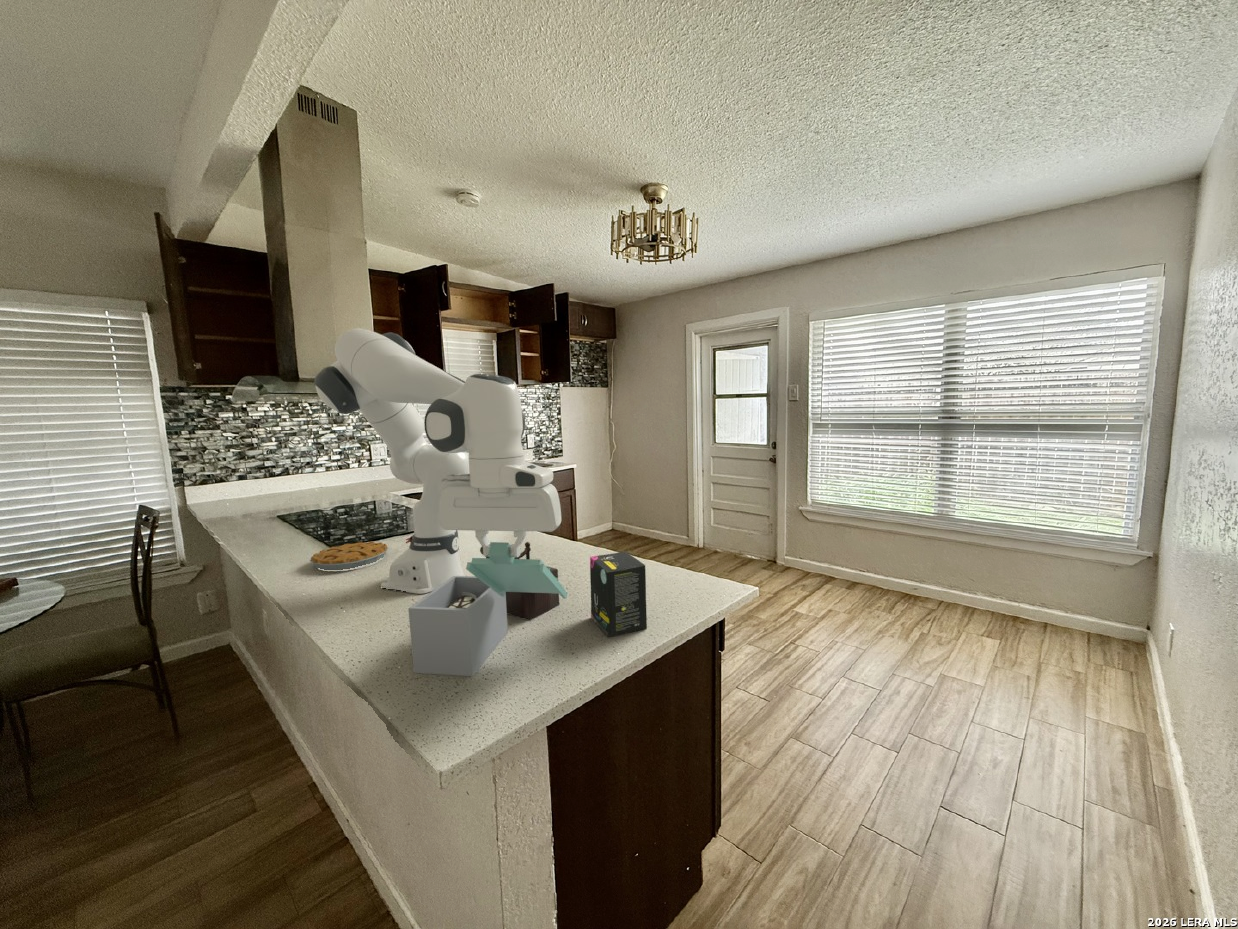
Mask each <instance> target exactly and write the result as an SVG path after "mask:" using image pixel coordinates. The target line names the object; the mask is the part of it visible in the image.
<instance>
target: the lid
mask: <svg viewBox="0 0 1238 929" xmlns="http://www.w3.org/2000/svg"><path fill="white" fill-rule="evenodd" d="M490 542H491V543H490V548H489V552H488V557H489V558H486V557H472V559H471V562H470V561H469V562H467V564H466V566H465V570H467V571H468V572H469V573H470V574H472V576H476V577H477V578H478V579H479V580H481V581H482V582H483V583H485V584H486V585H487V586H489V587H490V588H491V589H493V590H494V591H495V592H496V593H498V594H499V595H500V596H505V591H506V592H531V593H559V596H561V598H562V599H565V600H567V599H568V592H567V591H566V588H565V587H564V586H563V585H562V584H561V583H560V582H559V577H558V578H556V577H554V575H553V574H552V573H551V572H550V568H547V567H546V566H547V565H545V563H544V562H543V561H542V560H541V559H534V558H533V559H532V558H530V559H526V558H519V559H514V558H515V557H509V551H508V547H509V546H511V545H512V544H510V543H509V542H502V541H500V542H498V541H495V542H494V541H493V542H492V541H490Z"/></svg>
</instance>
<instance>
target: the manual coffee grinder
mask: <svg viewBox="0 0 1238 929" xmlns="http://www.w3.org/2000/svg"><path fill="white" fill-rule="evenodd" d="M491 542H492V541H490V543H491ZM524 546H525V547H524V550H523V551H521V554H520V556H519V557H515V558H514V559H522V558H523V557H524V556H525V559H531V557H530V554H531V553H530V552H531V551H532V549H531V543H530V542H529V541H526V542H524ZM479 551H480V554H481V555H482V556H484V555H483V547H482V546H480V548H479ZM484 558H489V557H488V556H484ZM545 566H546V567H547V568H550V572H551V573H552V574H553V575H554V577H556V578H558V579H559V570H558V568H554V567H551V566H547V565H545ZM505 592H506V591H505ZM559 605H560V594H559V593H531V592H506V610H507V615H510V616H513V617H517V618H518V619H522V620H526V621H531V620H534V619H537V618H538V617H540V616H542V615H544V614H546V613H547V612H549V611H551V610H553V609H554V608H556V607H558V606H559Z"/></svg>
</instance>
